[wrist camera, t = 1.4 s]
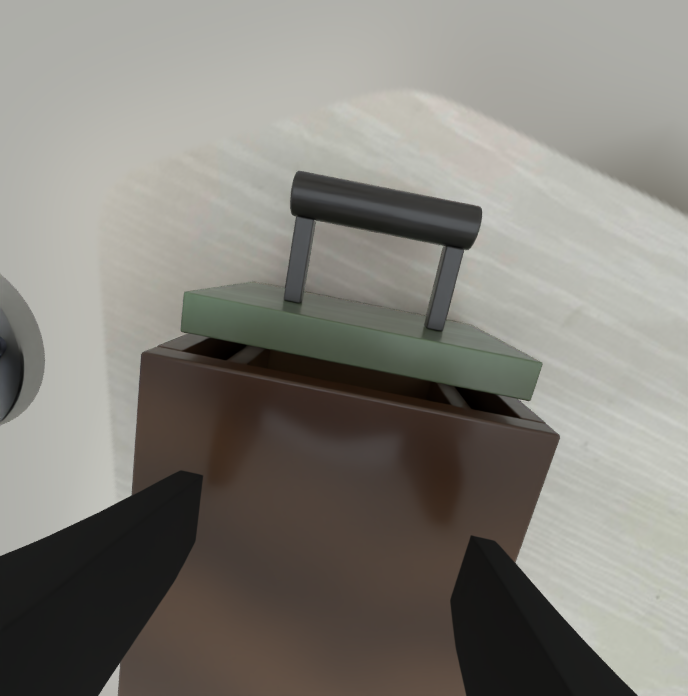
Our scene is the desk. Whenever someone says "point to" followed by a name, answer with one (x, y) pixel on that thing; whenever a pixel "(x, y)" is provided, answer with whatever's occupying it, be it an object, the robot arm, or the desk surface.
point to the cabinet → (321, 526)
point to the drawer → (366, 306)
